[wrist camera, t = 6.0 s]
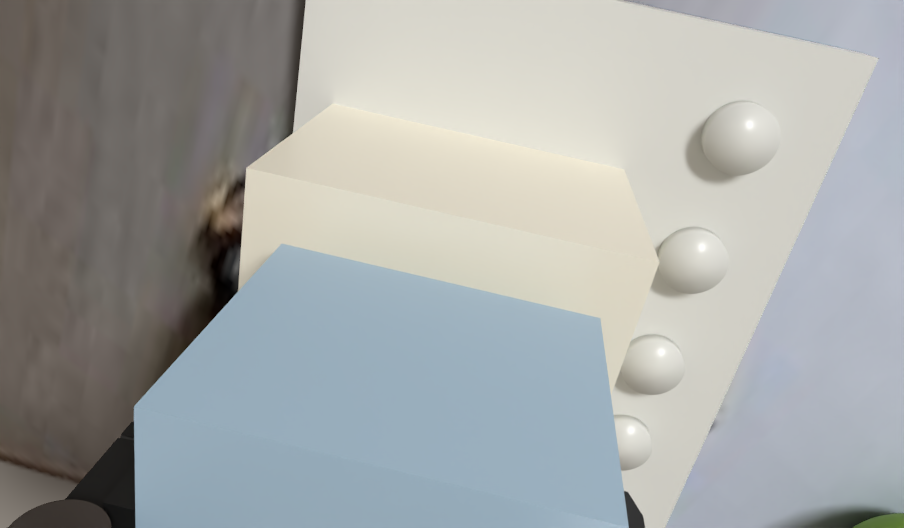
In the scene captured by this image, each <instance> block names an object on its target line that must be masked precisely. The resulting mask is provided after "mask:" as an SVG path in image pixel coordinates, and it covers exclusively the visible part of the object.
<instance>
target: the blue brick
mask: <svg viewBox="0 0 904 528" xmlns="http://www.w3.org/2000/svg"><path fill="white" fill-rule="evenodd" d="M134 453H135V526H136V528H629V525H628V518H627V510H626V503H625V496H624V488H623V481H622V474H621V466H620V459H619V452H618V444H617V437H616V430H615V422H614V415H613V407H612V400H611V393H610V385H609V378H608V371H607V363H606V356H605V349H604V341H603V334H602V327H601V319H600V318H598V317H593V316H589V315H585V314H581V313H576V312H572V311H568V310H563V309H559V308H555V307H551V306H546V305H542V304H538V303H534V302H529V301H525V300H521V299H517V298H512V297H508V296H504V295H499V294H495V293H491V292H487V291H482V290H478V289H474V288H470V287H465V286H461V285H457V284H452V283H448V282H444V281H440V280H435V279H431V278H427V277H423V276H418V275H414V274H410V273H405V272H401V271H397V270H393V269H388V268H384V267H380V266H376V265H371V264H367V263H363V262H359V261H354V260H350V259H346V258H341V257H337V256H333V255H329V254H324V253H320V252H316V251H312V250H307V249H303V248H299V247H294V246H290V245H286V244H281V245H280V246H279V247H278V248H277V249H276V250H275V252H274V253H273V254H272V255H271V256H270V257H269V258H268V259H267V260H266V261H265V263H264V264H263V265H262V266H261V267H260V268H259V269H258V270H257V271H256V272H255V274H254V275H253V276H252V277H251V278H250V279H249V280H248V281H247V282H246V284H245V285H244V286H243V287H242V288H241V289H240V290H239V291H238V292H237V293H236V295H235V296H234V297H233V298H232V299H231V300H230V301H229V302H228V303H227V304H226V306H225V307H224V308H223V309H222V310H221V311H220V312H219V313H218V314H217V315H216V317H215V318H214V319H213V320H212V321H211V322H210V323H209V324H208V325H207V327H206V328H205V329H204V330H203V331H202V332H201V333H200V334H199V335H198V336H197V338H196V339H195V340H194V341H193V342H192V343H191V344H190V345H189V346H188V347H187V349H186V350H185V351H184V352H183V353H182V354H181V355H180V356H179V357H178V358H177V360H176V361H175V362H174V363H173V364H172V365H171V366H170V367H169V368H168V370H167V371H166V372H165V373H164V374H163V375H162V376H161V377H160V378H159V379H158V381H157V382H156V383H155V384H154V385H153V386H152V387H151V388H150V389H149V390H148V392H147V393H146V394H145V395H144V396H143V397H142V398H141V399H140V400H139V401H138V403H137V404H136V405H135V406H134Z"/></svg>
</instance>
